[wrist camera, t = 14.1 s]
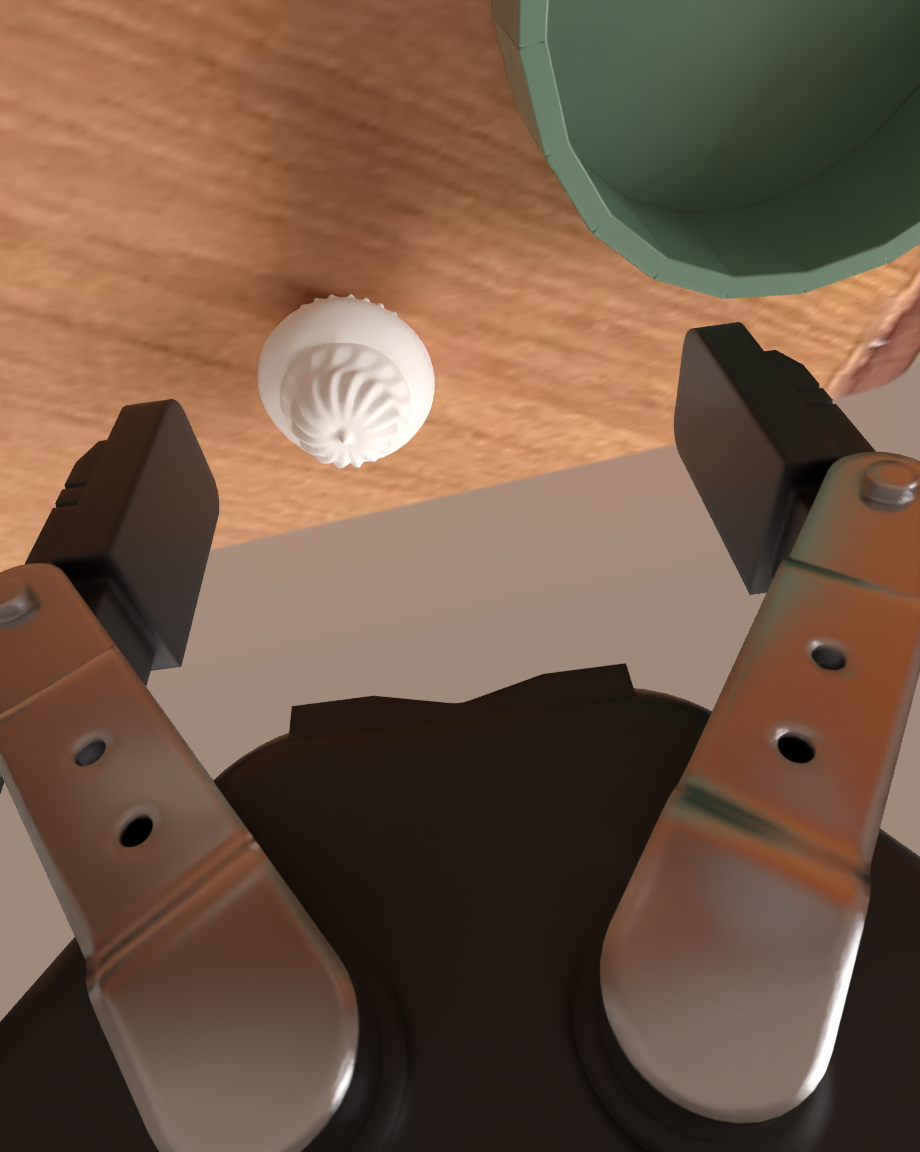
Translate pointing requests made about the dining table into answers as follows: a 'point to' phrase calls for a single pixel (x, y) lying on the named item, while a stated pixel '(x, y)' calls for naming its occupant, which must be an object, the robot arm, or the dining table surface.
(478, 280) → the dining table surface
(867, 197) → the tin
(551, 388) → the dining table surface
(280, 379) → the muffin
